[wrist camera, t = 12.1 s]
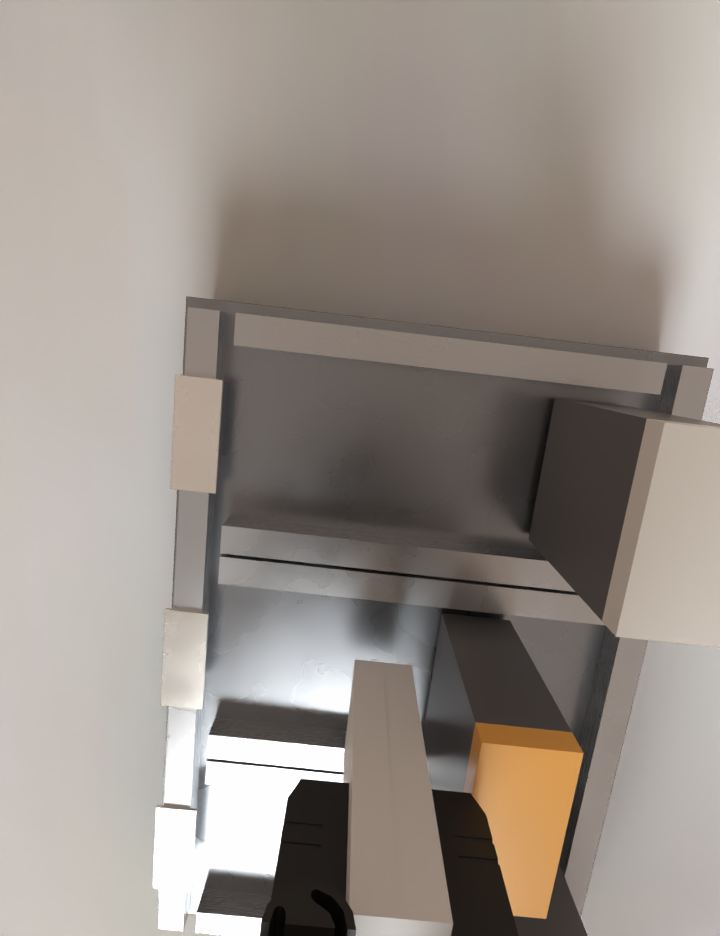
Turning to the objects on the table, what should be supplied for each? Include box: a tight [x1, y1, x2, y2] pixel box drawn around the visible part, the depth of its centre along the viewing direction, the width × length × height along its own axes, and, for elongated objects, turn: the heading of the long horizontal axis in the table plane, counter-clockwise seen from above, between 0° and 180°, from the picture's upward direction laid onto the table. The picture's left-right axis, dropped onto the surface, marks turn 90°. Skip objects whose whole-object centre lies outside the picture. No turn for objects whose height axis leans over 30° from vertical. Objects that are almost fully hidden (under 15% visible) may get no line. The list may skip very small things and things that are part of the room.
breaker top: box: [529, 398, 720, 648], centre depth 12 cm, size 2×4×5 cm, turn 174°
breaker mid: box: [423, 613, 584, 919], centre depth 14 cm, size 2×4×5 cm, turn 174°
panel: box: [153, 296, 714, 936], centre depth 17 cm, size 14×20×3 cm
